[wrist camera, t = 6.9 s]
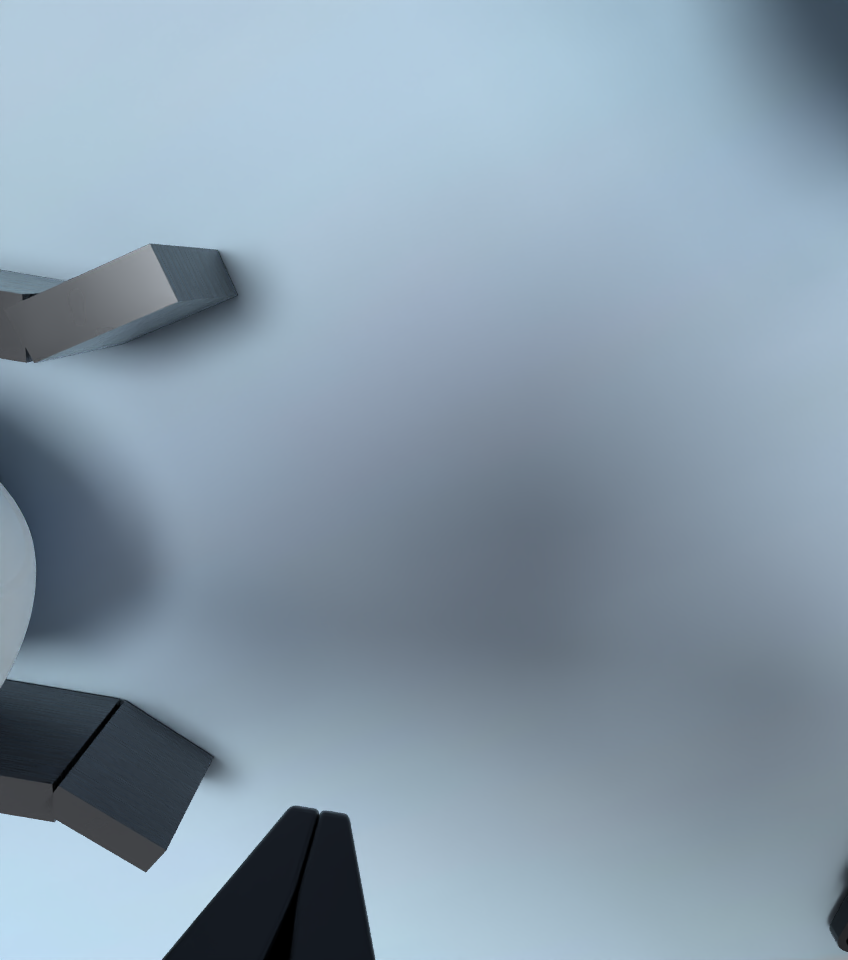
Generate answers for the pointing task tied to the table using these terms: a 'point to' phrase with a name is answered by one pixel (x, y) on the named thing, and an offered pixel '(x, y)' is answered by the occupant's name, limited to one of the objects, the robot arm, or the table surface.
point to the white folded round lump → (14, 581)
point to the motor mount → (73, 715)
